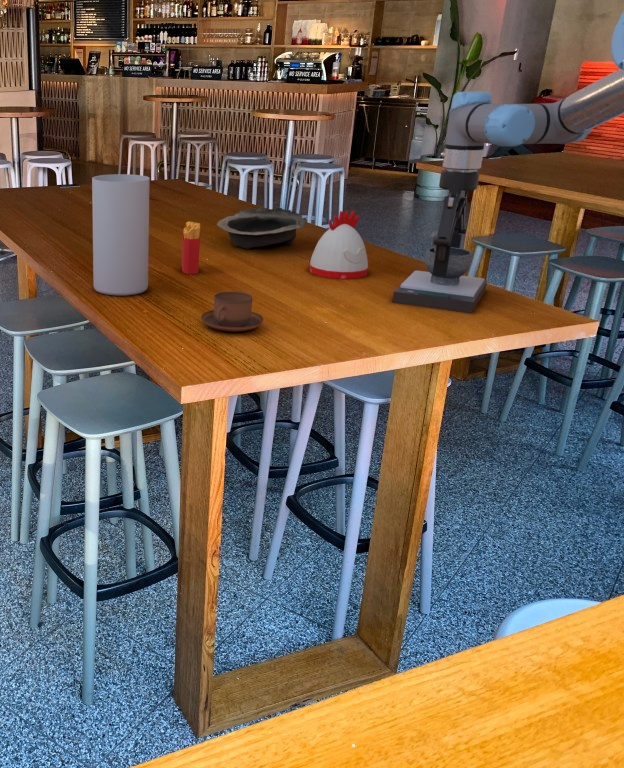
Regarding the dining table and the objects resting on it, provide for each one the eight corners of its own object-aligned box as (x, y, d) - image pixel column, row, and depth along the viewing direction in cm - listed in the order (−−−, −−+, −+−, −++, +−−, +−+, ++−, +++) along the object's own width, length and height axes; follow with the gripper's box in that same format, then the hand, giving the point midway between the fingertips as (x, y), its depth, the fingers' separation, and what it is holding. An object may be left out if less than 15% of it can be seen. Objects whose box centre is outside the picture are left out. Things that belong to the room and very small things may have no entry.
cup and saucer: (259, 338, 149) (261, 307, 146) (196, 333, 152) (197, 302, 149) (265, 320, 159) (267, 290, 157) (206, 316, 162) (207, 286, 160)
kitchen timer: (378, 275, 193) (386, 213, 187) (330, 280, 188) (336, 217, 183) (345, 263, 205) (351, 204, 199) (298, 267, 201) (304, 208, 195)
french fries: (180, 267, 202) (181, 219, 197) (195, 266, 202) (197, 219, 197) (184, 275, 194) (185, 226, 189) (200, 275, 194) (202, 226, 189)
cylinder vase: (154, 295, 177) (155, 180, 168) (99, 298, 175) (98, 182, 165) (140, 281, 188) (141, 173, 179) (89, 284, 186) (87, 175, 177)
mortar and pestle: (440, 274, 181) (449, 222, 176) (477, 283, 174) (486, 229, 169) (408, 281, 175) (415, 227, 171) (444, 290, 168) (453, 234, 164)
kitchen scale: (471, 313, 164) (474, 298, 162) (392, 302, 171) (394, 288, 170) (485, 291, 179) (487, 277, 178) (412, 282, 187) (414, 269, 186)
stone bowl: (304, 237, 234) (307, 206, 230) (302, 262, 212) (306, 228, 208) (220, 232, 239) (222, 202, 235) (211, 257, 217) (212, 223, 213)
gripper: (452, 163, 178) (437, 256, 186) (430, 175, 158) (415, 279, 166) (488, 164, 174) (472, 259, 182) (470, 177, 154) (453, 283, 162)
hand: (445, 269), depth 174 cm, fingers open, 13 cm apart
